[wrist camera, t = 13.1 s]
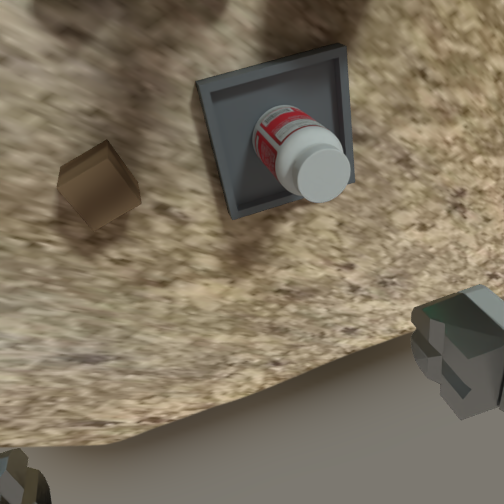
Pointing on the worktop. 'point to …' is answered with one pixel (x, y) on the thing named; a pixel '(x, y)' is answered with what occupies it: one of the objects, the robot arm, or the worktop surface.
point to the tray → (261, 100)
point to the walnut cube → (99, 186)
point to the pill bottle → (301, 153)
